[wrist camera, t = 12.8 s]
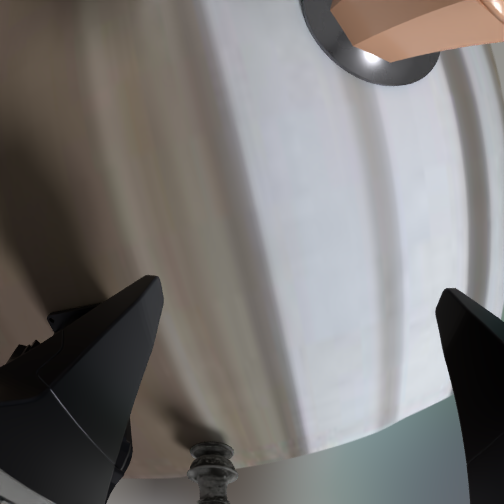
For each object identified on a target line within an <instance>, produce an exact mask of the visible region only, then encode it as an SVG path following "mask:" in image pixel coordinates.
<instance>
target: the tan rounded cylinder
mask: <svg viewBox="0 0 504 504" xmlns="http://www.w3.org/2000/svg"><path fill="white" fill-rule="evenodd" d="M330 11H331V13H332V14H333V16H334V17H335V19H336V20H337V22H338V23H339V25H340V26H341V28H342V29H343V31H344V32H345V34H346V36H347V37H348V39H349V40H350V42H351V44H352V45H353V46H354V47H357V48H359V49H361V50H364V51H366V52H368V53H371V54H373V55H375V56H377V57H379V58H381V59H384V60H386V61H388V62H390V63H391V62H394V61H398V60H402V59H407V58H411V57H415V56H419V55H424V54H429V53H433V52H438V51H444V50H449V49H455V48H461V47H467V46H473V45H481V44H488V43H497V42H504V0H332V4H331V8H330Z"/></svg>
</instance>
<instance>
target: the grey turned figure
mask: <svg viewBox="0 0 504 504" xmlns="http://www.w3.org/2000/svg"><path fill="white" fill-rule="evenodd" d="M190 453H191V455H192V456H193V457H194V458H195V460H194V461H193V463H192V464H191V466H190V470H189V471H188V472H187V476H188V478H189V479H190V480H192V481H194V482H196V483H198V485H199V488H200V500H199V501H198V502H197V504H230V502H229V501H227V492H226V489H227V485H228V484H229V483H232V482H233V481H235V480H236V479H237V478H238V473H237V472H236V471H235V468H234V466H233V464H232V462H231V461H230V460H228V459H230V458H231V457H232V456H233V455H234V451H233V449H232V448H231V447H230V446H228V445H226V444H223V443H218V442H204V443H199V444H196V445H194V446H193V447H192V448H191V449H190Z"/></svg>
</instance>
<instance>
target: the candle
mask: <svg viewBox="0 0 504 504" xmlns="http://www.w3.org/2000/svg"><path fill="white" fill-rule="evenodd" d="M331 4H332V0H302V10H303V15H304V18H305V21H306V24H307V26H308V28H309V30H310V33H311V34H312V36H313V38H314V39H315V41H316V42H317V44H318V45H319V46H320V48H321V49H322V50H323V51H324V52H325V53H326V54H327V55H328V57H329V58H330V59H331V60H333V61H334V62H335V63H336V64H337V65H338V66H340V67H341V68H343V69H344V70H345V71H347V72H348V73H350V74H352V75H354V76H355V77H357V78H360V79H362V80H364V81H367V82H370V83H373V84H377V85H383V86H400V85H407V84H411V83H414V82H416V81H419V80H420V79H422V78H423V77H425V76H426V75H427V74H428V73H429V72H430V71H431V70H432V69H433V67H434V66H435V64H436V62H437V60H438V57H439V54H440V51H438V52H433V53H429V54H424V55H419V56H415V57H411V58H407V59H402V60H398V61H394V62H391V63H390V62H388V61H386V60H384V59H381V58H379V57H377V56H375V55H373V54H371V53H368V52H366V51H364V50H361V49H359V48H357V47H354V46H353V45H352V44H351V42H350V40H349V39H348V37H347V36H346V34H345V32H344V31H343V29H342V28H341V26H340V25H339V23H338V22H337V20H336V19H335V17H334V16H333V14H332V13H331V11H330V8H331Z"/></svg>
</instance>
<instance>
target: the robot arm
mask: <svg viewBox="0 0 504 504" xmlns="http://www.w3.org/2000/svg"><path fill="white" fill-rule="evenodd" d="M163 303H164V298H163V292H162V287H161V282H160V278H159V277H158V276H152V275H145V276H144V277H142V278H140V279H139V280H137V281H136V282H134V283H133V284H131V285H129V286H128V287H126V288H125V289H123V290H122V291H120V292H119V293H117V294H115V295H114V296H112V297H111V298H109V299H108V300H106V301H105V302H103V303H99V304H94V305H89V306H84V307H79V308H74V309H69V310H64V311H58V312H53V313H50V314H49V315H48V317H47V320H48V322H49V324H50V326H51V328H52V329H53V331H54V335H53V336H52V337H50V338H49V339H47V340H46V341H44V342H43V343H41V344H40V343H39V342H38V341H37V340H35V341H34V342H33V344H32V345H31V346H30V345H27V346H24V345H20V344H19V345H18V347H17V348H16V349H15V351H14V352H13V354H12V355H11V357H10V358H9V360H8V362H7V363H6V364H5V365H3V366H2V367H0V504H106V503H107V500H108V498H109V496H110V493H111V492H112V490H113V489H114V487H115V485H116V484H117V483H118V482H119V480H120V479H121V478H122V477H123V476H124V473H125V471H126V470H127V468H128V466H129V464H130V461H131V458H132V452H133V447H132V437H131V426H130V414H131V410H132V407H133V404H134V401H135V398H136V395H137V392H138V389H139V386H140V383H141V380H142V377H143V374H144V372H145V369H146V366H147V363H148V360H149V357H150V354H151V352H152V348H153V345H154V341H155V337H156V333H157V329H158V324H159V320H160V316H161V312H162V308H163ZM435 313H436V319H437V324H438V328H439V333H440V338H441V344H442V349H443V353H444V357H445V361H446V365H447V368H448V372H449V376H450V380H451V384H452V388H453V392H454V397H455V400H456V406H457V410H458V415H459V420H460V426H461V431H462V437H463V442H464V449H465V456H466V463H467V473H468V483H469V494H470V504H504V322H503V321H502V320H500V319H499V318H498V317H496V316H495V315H494V314H492V313H491V312H489V311H488V310H487V309H485V308H484V307H482V306H481V305H479V304H478V303H477V302H475V301H474V300H472V299H471V298H469V297H468V296H466V295H465V294H464V293H462V292H461V291H459V290H458V289H456V288H446V289H444V291H443V292H442V295H441V297H440V300H439V302H438V304H437V307H436V312H435ZM52 318H53V319H54V320H53V319H52Z"/></svg>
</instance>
